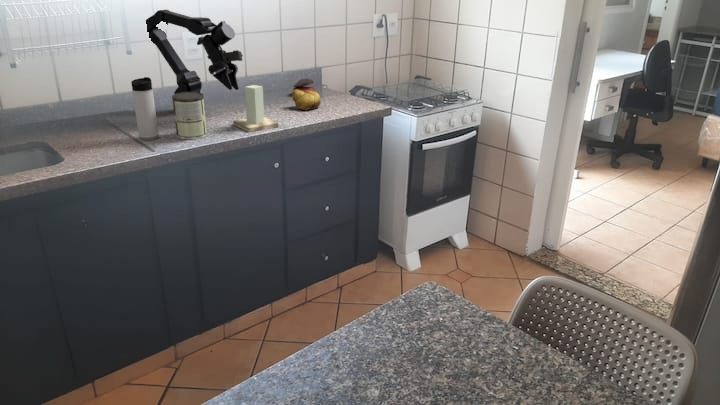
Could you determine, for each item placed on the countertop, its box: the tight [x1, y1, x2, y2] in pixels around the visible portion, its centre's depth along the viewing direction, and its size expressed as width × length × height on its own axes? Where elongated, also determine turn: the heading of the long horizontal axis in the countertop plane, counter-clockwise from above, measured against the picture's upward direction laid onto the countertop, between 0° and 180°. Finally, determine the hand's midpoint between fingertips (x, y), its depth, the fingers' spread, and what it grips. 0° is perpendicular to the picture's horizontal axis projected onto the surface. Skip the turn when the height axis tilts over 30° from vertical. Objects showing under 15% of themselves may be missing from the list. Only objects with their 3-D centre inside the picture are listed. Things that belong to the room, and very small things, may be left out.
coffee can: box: [171, 92, 208, 140], centre depth 186 cm, size 10×10×14 cm
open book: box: [233, 116, 279, 133], centre depth 202 cm, size 12×12×2 cm
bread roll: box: [291, 89, 322, 111], centre depth 227 cm, size 13×10×8 cm
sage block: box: [244, 84, 265, 124], centre depth 199 cm, size 4×4×13 cm
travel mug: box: [131, 76, 160, 142], centre depth 181 cm, size 6×7×20 cm
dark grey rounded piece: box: [292, 78, 316, 92], centre depth 248 cm, size 11×10×10 cm
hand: (234, 89), depth 203 cm, fingers open, 9 cm apart
